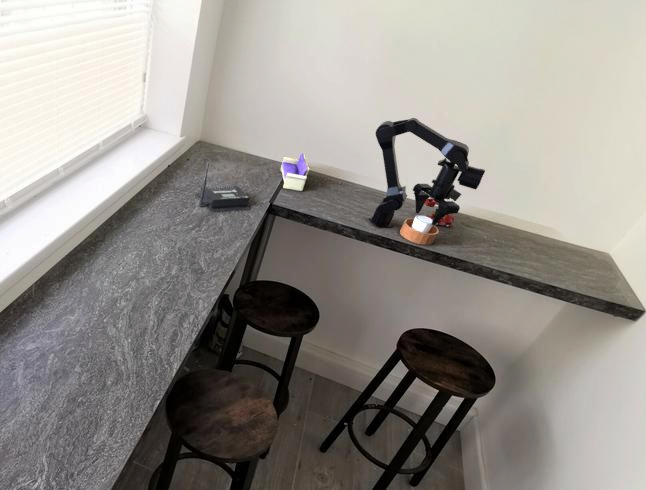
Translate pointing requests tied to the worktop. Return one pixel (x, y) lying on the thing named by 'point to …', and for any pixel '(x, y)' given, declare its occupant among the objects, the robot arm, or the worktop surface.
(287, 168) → the toy sofa
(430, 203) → the toy fire truck
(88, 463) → the worktop surface
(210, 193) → the black wifi router
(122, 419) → the worktop surface
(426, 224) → the shot glass
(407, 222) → the bowl
